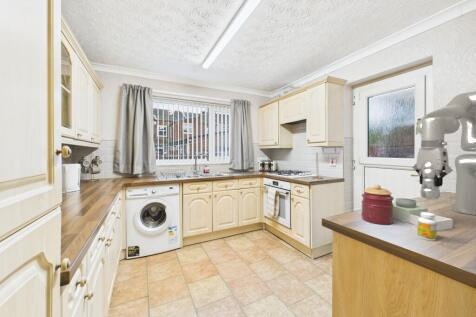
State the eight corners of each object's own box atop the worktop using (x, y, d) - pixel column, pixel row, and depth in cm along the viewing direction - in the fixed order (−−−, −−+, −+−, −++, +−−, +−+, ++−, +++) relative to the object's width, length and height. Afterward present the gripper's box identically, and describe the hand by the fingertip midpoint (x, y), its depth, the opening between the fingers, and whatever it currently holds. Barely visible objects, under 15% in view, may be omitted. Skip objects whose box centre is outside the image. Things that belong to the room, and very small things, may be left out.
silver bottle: (444, 201, 90) (446, 155, 89) (425, 200, 92) (427, 155, 91) (433, 197, 97) (435, 154, 96) (416, 196, 98) (418, 154, 97)
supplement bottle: (413, 235, 84) (414, 211, 84) (426, 234, 85) (427, 211, 84) (427, 241, 79) (428, 216, 78) (440, 240, 79) (441, 215, 79)
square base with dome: (402, 213, 112) (402, 196, 112) (453, 228, 91) (454, 208, 91) (384, 215, 109) (385, 198, 109) (433, 231, 88) (434, 210, 88)
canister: (375, 226, 94) (376, 187, 93) (355, 216, 107) (355, 182, 106) (400, 224, 96) (401, 186, 95) (377, 215, 109) (378, 181, 108)
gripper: (462, 144, 86) (460, 188, 87) (417, 145, 102) (416, 181, 103) (449, 144, 84) (447, 189, 85) (406, 145, 100) (404, 182, 101)
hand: (430, 184), depth 94 cm, fingers closed on silver bottle, 5 cm apart
